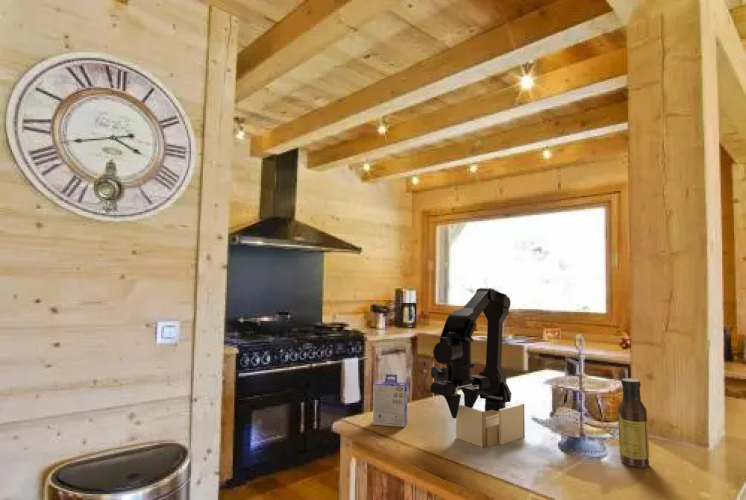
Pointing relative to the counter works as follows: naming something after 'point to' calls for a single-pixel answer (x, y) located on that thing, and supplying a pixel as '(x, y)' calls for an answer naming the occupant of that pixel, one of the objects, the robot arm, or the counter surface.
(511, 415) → the side flap
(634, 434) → the sauce bottle
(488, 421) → the carton
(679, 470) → the counter surface
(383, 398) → the ink cartridge box
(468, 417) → the front flap
